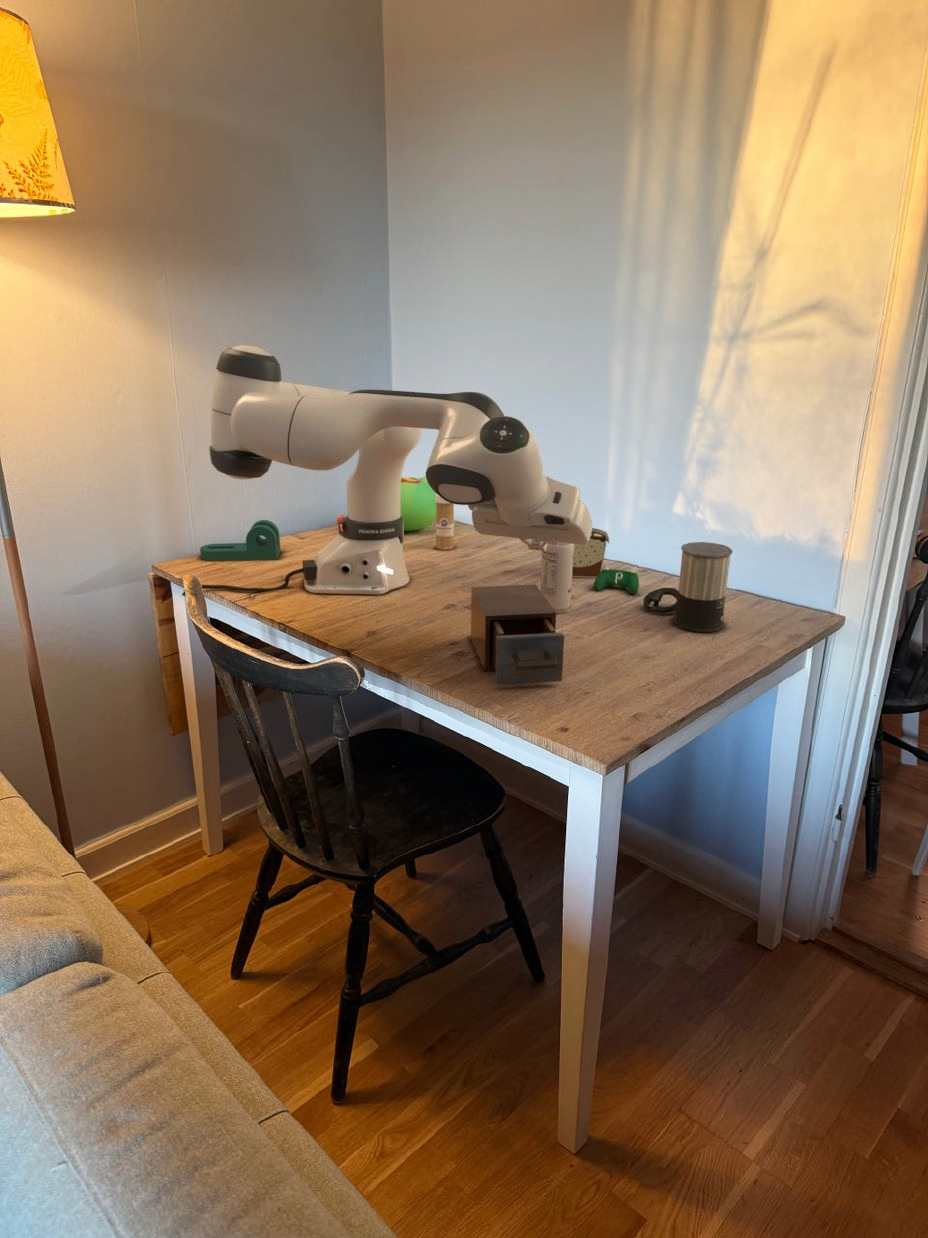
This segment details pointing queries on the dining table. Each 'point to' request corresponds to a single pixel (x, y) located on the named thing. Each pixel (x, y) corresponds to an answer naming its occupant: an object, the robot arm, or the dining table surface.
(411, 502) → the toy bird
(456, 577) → the dining table surface
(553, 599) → the energy drink can
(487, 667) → the cabinet
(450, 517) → the sprinkles bottle
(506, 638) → the drawer
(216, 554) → the bracket
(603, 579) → the gaming controller
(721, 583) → the milk frother
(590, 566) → the food container
